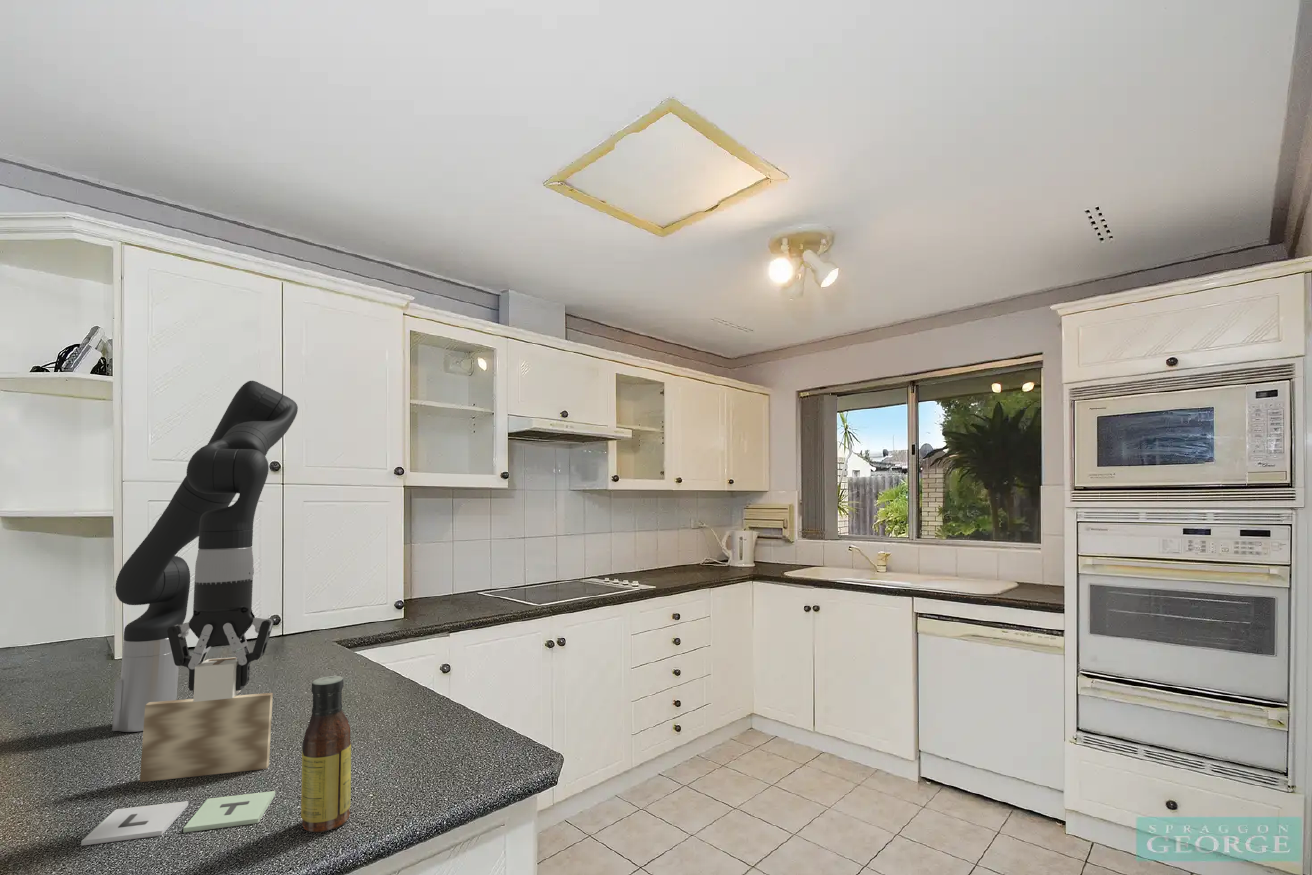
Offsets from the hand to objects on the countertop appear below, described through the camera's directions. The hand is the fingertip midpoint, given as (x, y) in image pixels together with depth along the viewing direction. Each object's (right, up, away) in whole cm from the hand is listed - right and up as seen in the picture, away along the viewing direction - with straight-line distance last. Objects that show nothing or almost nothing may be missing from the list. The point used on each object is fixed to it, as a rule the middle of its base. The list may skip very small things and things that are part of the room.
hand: (219, 690), depth 99 cm
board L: (-6, -16, -8) cm, 18 cm away
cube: (0, -1, 0) cm, 1 cm away
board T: (+5, -16, -5) cm, 17 cm away
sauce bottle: (+20, -16, -8) cm, 27 cm away
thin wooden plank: (-8, -17, +9) cm, 21 cm away
